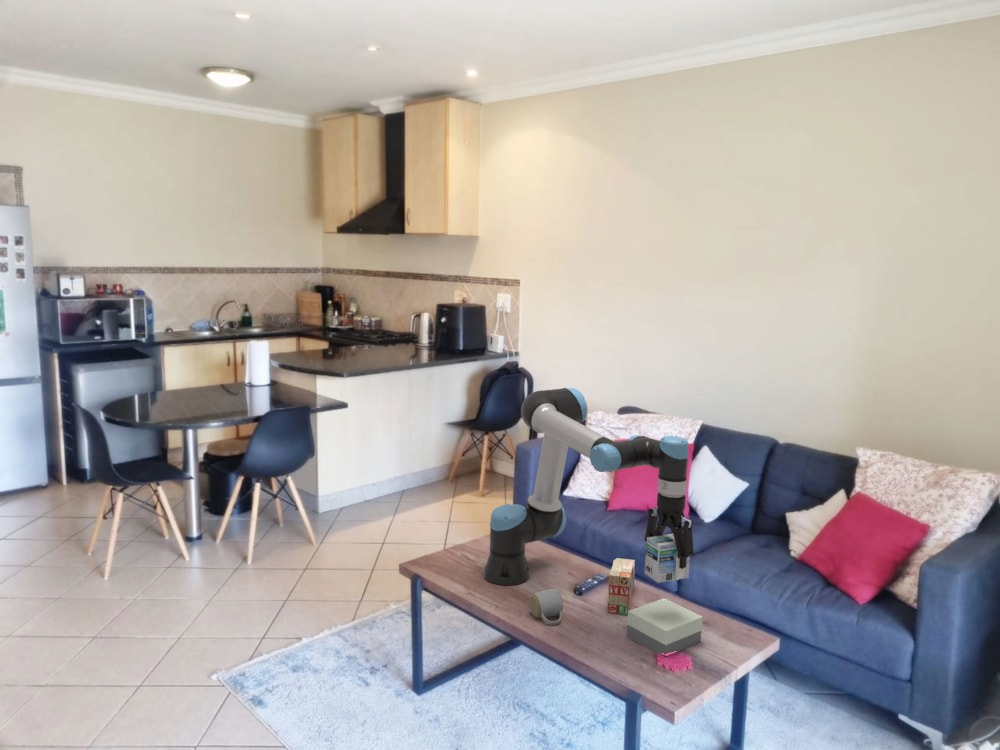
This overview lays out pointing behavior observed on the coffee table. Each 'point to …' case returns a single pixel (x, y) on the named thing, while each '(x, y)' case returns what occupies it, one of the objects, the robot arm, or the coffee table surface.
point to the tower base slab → (657, 645)
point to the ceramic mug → (546, 605)
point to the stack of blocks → (621, 586)
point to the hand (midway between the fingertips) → (666, 573)
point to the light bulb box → (662, 558)
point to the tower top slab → (665, 621)
